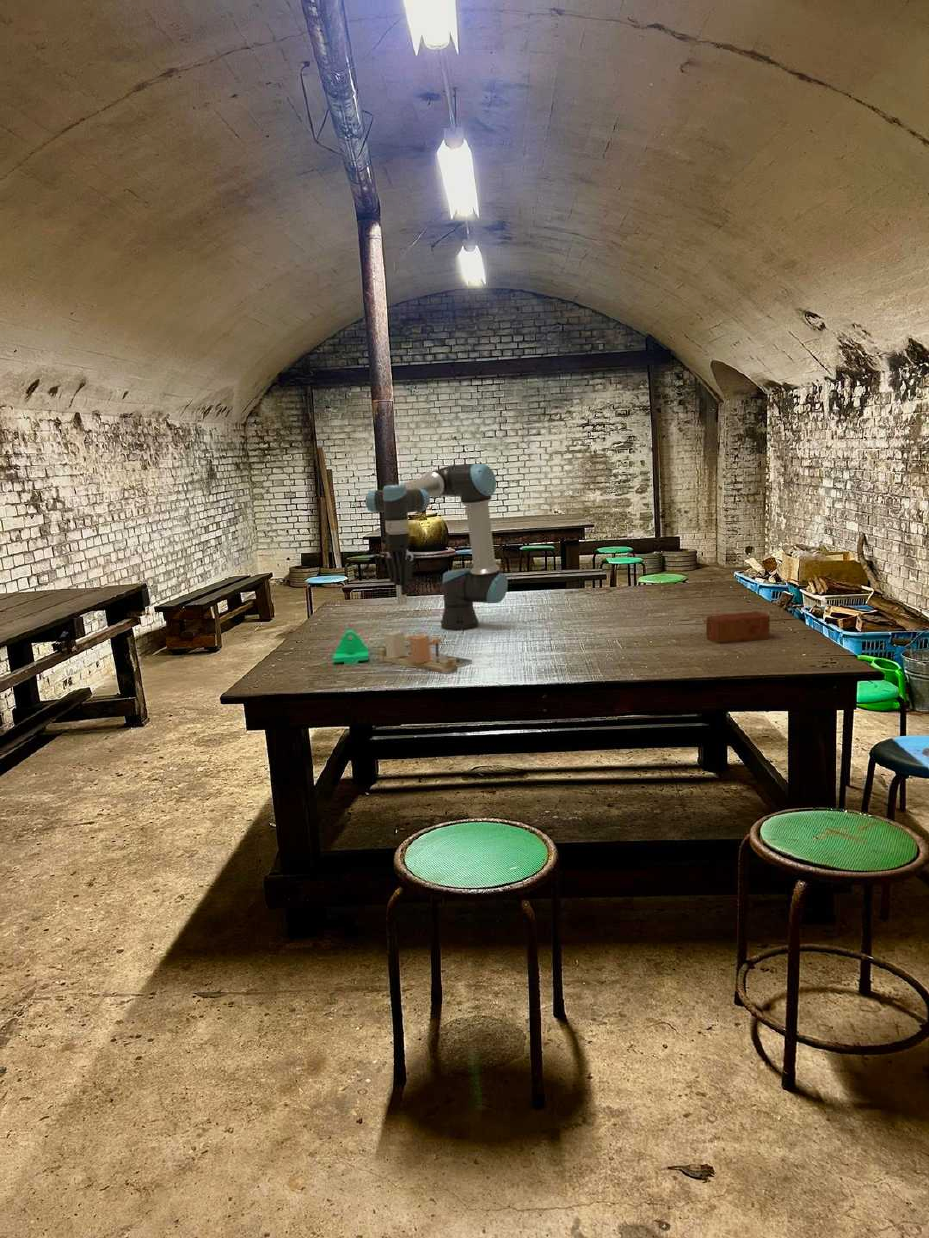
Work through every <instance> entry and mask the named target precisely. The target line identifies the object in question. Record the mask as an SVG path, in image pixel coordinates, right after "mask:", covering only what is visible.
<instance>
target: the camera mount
mask: <svg viewBox="0 0 929 1238" xmlns="http://www.w3.org/2000/svg"><path fill="white" fill-rule="evenodd" d="M349 636H350V637H351V636H352V638H351V639H350V638H348V637H349ZM369 659H370V650H369V649H368V647H367V646H366V644H365V643H364V641H363V640H362V639H361V638H360V636H359V635H358V634H357V632H356V631H354V630H351V629H348V630H346V631H345V632H344V634H343V636H342V637H341V640H340V642H339V644H338V645H337V647H336V650H335V651H334V653H333V659H332V660H333V663H344V665H352V664H354V665H355V664H359V661H360V662H361V661H368V660H369Z"/></svg>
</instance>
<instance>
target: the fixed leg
mask: <svg viewBox="0 0 929 1238" xmlns="http://www.w3.org/2000/svg"><path fill="white" fill-rule="evenodd" d="M414 636H417V635H416V634H414V633H411V634H408V635H405V632H404V631H399V630H394V631H389V632H385V633H384V638H385V639H384V640H385V648H386V656H387V657H389V658H394V659H395V658H398V657H402V656H405V652H406V647H405V642H407V641H410V637H414Z"/></svg>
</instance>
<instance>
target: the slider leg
mask: <svg viewBox="0 0 929 1238" xmlns="http://www.w3.org/2000/svg"><path fill="white" fill-rule="evenodd" d="M441 639H442V638H438V637H436V638H433V639H430V636H429V635H424V634H419V635H416V636H414V637H410V640H409V648H410V650H409V651H410V653H411V662H414V663H419V664H420V663H423V662H426V661H429V660H430V653H431V650H430V649H431V648H430V646H433V645H434V646H435V654H436V657H439V654H440V652H439V651H440V650H439V649H440V648H439V644H441V643H442V640H441Z"/></svg>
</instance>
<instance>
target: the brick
mask: <svg viewBox="0 0 929 1238" xmlns="http://www.w3.org/2000/svg"><path fill="white" fill-rule="evenodd" d="M705 623H706V639H707V640H709V641H711V642H713V643H716V644H728V643H729V644H730V643H737V642H739V643H740V642H747V641H750V642H751V641H759V640H767V639H769V638H770V626H771V625H770V624H771V616H770V615H767V614H765V613H761V612H759V611H751V612H738V613H729V614H727V613H725V614H722V615H721V614H720V615H710V616H706V622H705Z"/></svg>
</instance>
